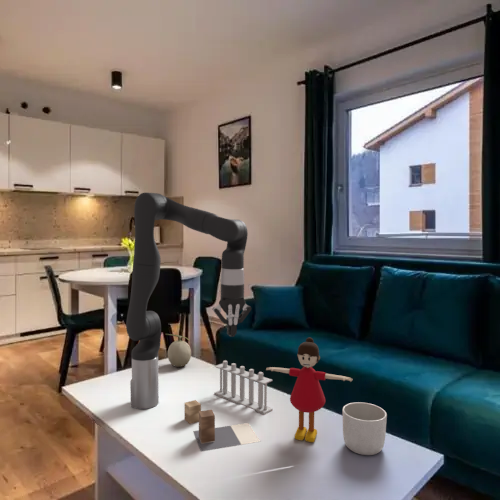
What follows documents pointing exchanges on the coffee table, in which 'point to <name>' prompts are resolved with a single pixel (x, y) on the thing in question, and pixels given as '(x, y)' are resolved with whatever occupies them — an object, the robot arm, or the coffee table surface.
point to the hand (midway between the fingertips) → (231, 335)
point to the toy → (307, 387)
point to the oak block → (192, 411)
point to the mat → (229, 437)
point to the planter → (364, 427)
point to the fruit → (179, 352)
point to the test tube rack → (240, 399)
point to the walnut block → (206, 426)
